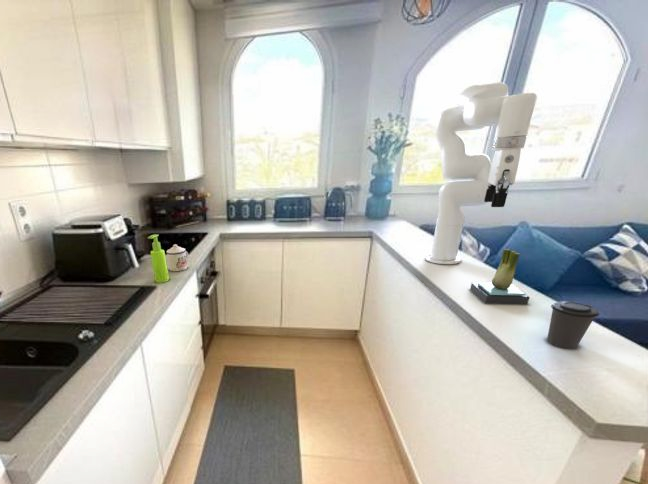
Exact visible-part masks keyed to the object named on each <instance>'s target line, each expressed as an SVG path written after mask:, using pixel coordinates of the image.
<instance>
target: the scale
mask: <svg viewBox="0 0 648 484" xmlns="http://www.w3.org/2000/svg"><path fill="white" fill-rule="evenodd" d="M478 283H479V282H471V283H470V289H469V290H470V291H471V292H472V293H473V295H474V296H476V297H477V298H478V299H479V300H480V301H481V302H483V304H486V305H522V306H523V305H527V306H528V304H529V300H530V295H528V294H526V295H525V296H520V295H490V294H489V293H487V292H486V291H485V290H484V289H483V288H482V287H480V286H479V285H478ZM480 283H492V281H480Z"/></svg>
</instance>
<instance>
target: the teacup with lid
mask: <svg viewBox="0 0 648 484" xmlns="http://www.w3.org/2000/svg"><path fill="white" fill-rule="evenodd" d="M165 254H166V255H167V263H168V268H169V269H168V270H169V271H171V272H181V271H185V270H187V269H188V261H187V260H188V259H189V252H188V251H187V250H186V248H184V247H181V246H178V244H176V243H175V244H173V245H172V247H170V248H169V249H167V250H166V253H165Z"/></svg>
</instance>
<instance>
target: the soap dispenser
mask: <svg viewBox="0 0 648 484" xmlns="http://www.w3.org/2000/svg"><path fill="white" fill-rule="evenodd" d="M159 235H160V234H151V235H149V236H147V239H148V240H152V239H153V242H152V243H151V247H152V250H150V259H151V264H152V269H153V274H154V282H155V283H159V284H161V283H166V282H168V281H169V280H170V277H169V272H168V271H169V269H168V264H167V259H166V253H165V250H164V249H162V246H161V242H160V241H159V240H158V237H159Z"/></svg>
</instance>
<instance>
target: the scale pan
mask: <svg viewBox="0 0 648 484" xmlns="http://www.w3.org/2000/svg"><path fill="white" fill-rule="evenodd" d="M477 283H478V285H479V286H480V287H482V288H483V289H484V290H485V291H486V292H487V293H489V294H490V295H520V296H525V295H527V293H525V292H524V291H523V290H521V289H519V288H518V287H517V286H515V285H514V284H513V283H512V284H511V286H510V287H509V288H508V289H499V288H496V287H494V286H493V285H492V283H481V282H477Z"/></svg>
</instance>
